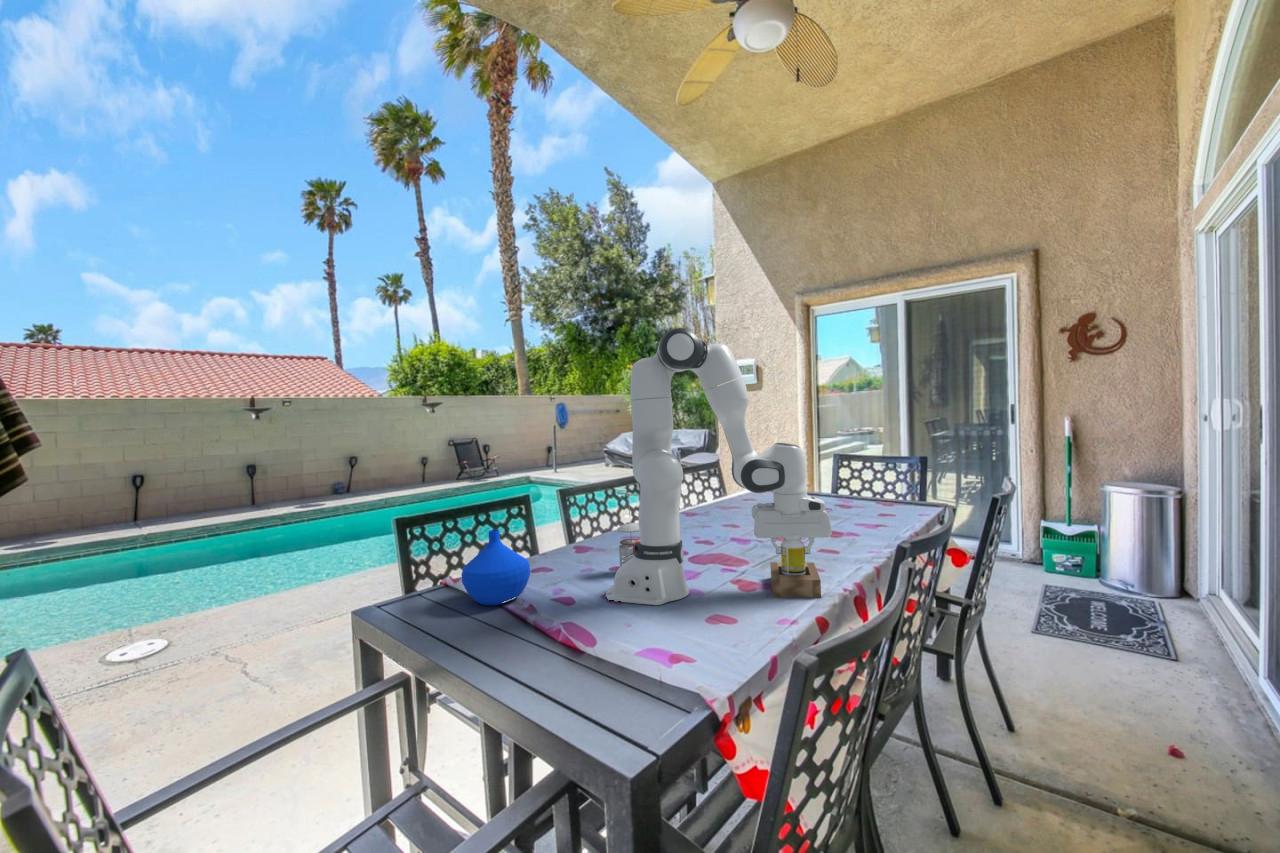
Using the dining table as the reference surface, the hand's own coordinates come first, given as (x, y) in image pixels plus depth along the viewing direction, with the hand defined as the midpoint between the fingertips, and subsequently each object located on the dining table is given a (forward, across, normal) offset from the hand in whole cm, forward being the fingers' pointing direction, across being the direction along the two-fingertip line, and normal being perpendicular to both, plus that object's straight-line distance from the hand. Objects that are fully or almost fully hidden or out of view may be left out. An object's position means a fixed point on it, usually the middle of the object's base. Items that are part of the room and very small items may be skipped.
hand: (792, 553), depth 148 cm
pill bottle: (+6, 0, 0) cm, 6 cm away
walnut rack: (+9, 0, 0) cm, 9 cm away
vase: (+9, -80, -14) cm, 82 cm away
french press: (+9, -47, +13) cm, 50 cm away
